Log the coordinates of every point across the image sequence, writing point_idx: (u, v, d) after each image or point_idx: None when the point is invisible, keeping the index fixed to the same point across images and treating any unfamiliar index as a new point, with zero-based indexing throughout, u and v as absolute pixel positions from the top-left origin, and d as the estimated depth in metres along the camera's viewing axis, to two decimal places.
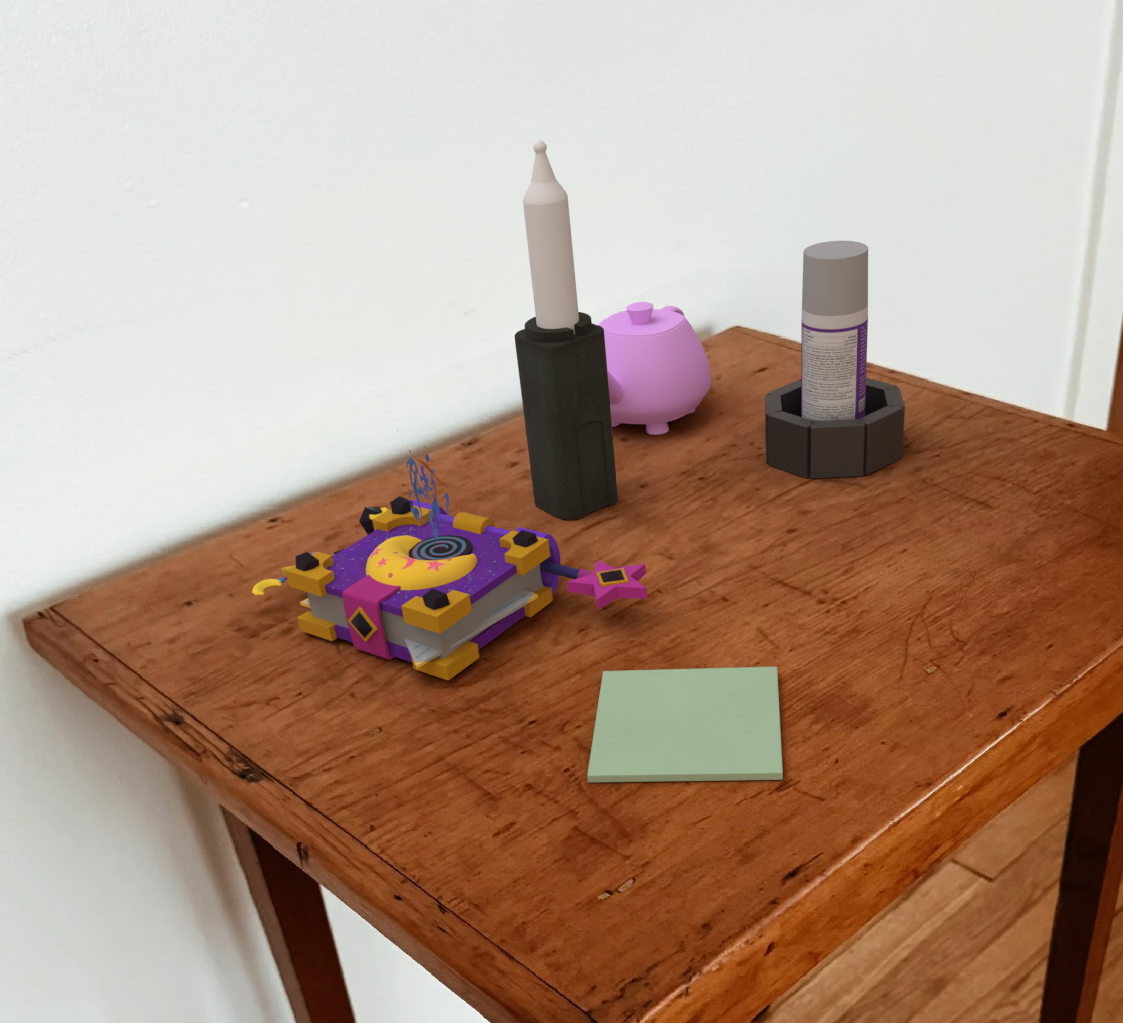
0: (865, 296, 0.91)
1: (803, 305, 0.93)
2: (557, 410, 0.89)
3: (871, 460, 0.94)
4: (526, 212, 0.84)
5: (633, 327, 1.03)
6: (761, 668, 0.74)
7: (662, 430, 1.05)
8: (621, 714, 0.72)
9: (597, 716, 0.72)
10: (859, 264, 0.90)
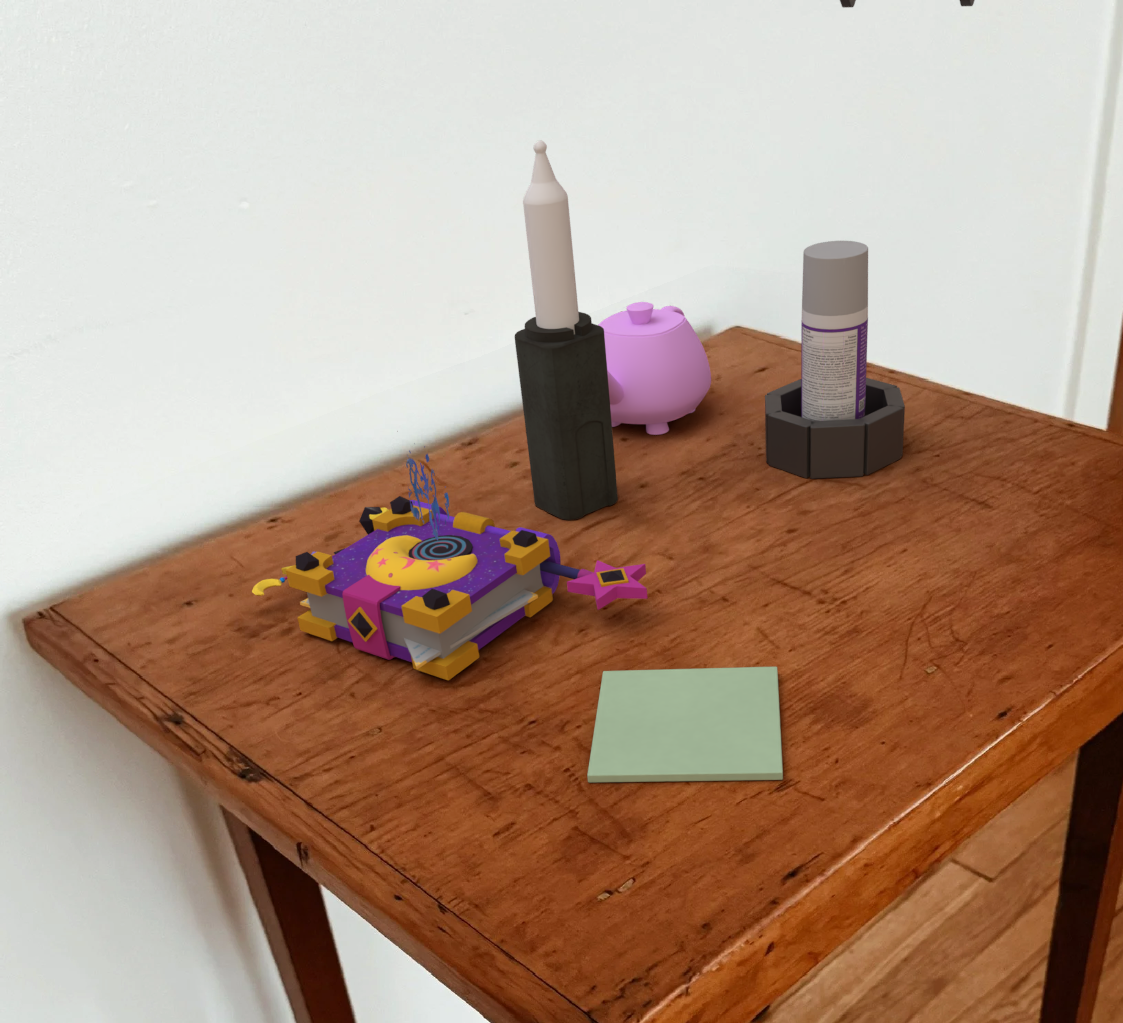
0: (865, 296, 0.91)
1: (803, 305, 0.93)
2: (557, 410, 0.89)
3: (871, 460, 0.94)
4: (526, 212, 0.84)
5: (633, 327, 1.03)
6: (761, 668, 0.74)
7: (662, 430, 1.05)
8: (621, 714, 0.72)
9: (597, 716, 0.72)
10: (859, 264, 0.90)
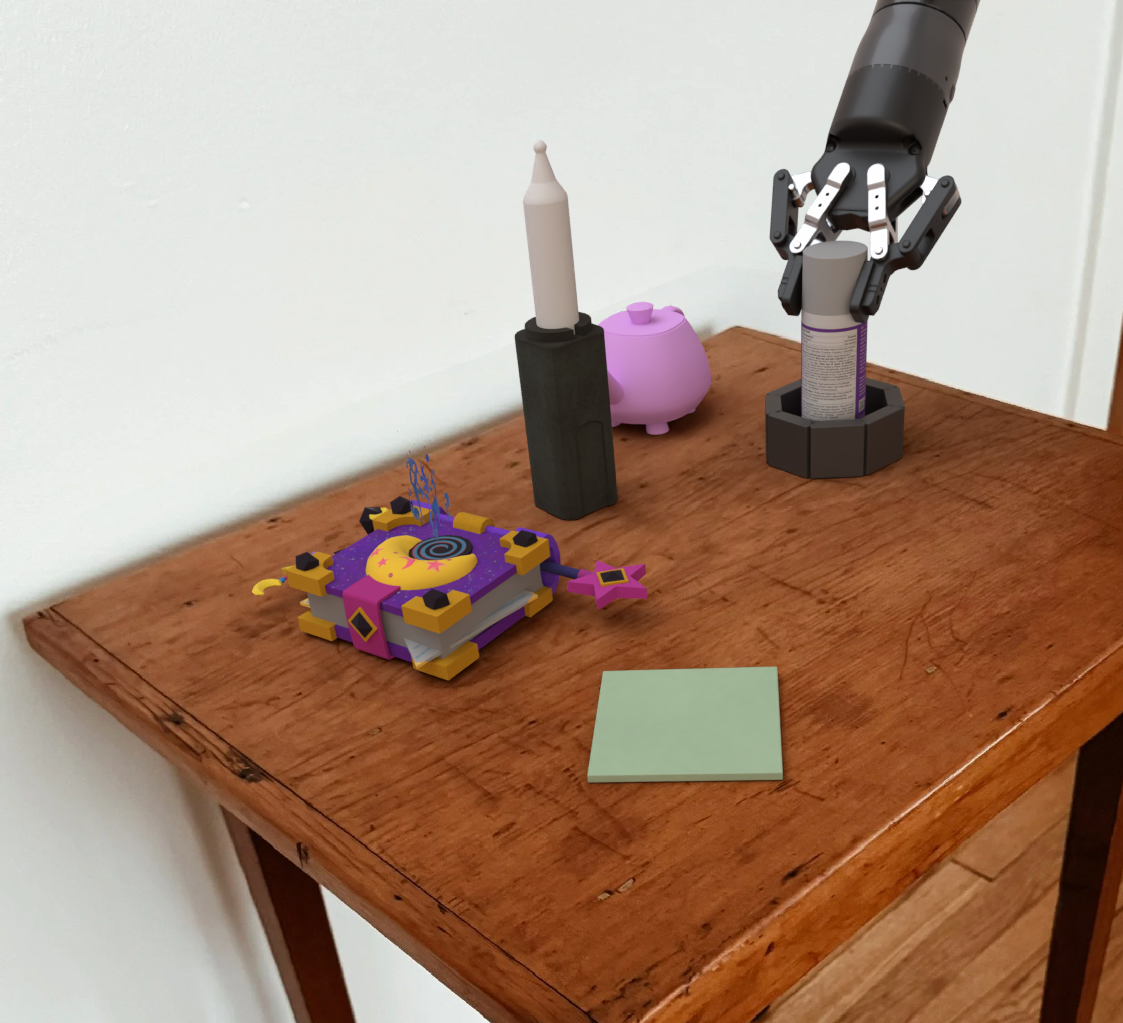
0: None
1: (803, 305, 0.93)
2: (557, 410, 0.89)
3: (871, 460, 0.94)
4: (526, 212, 0.84)
5: (633, 327, 1.03)
6: (761, 668, 0.74)
7: (662, 430, 1.05)
8: (621, 714, 0.72)
9: (597, 716, 0.72)
10: (859, 264, 0.90)
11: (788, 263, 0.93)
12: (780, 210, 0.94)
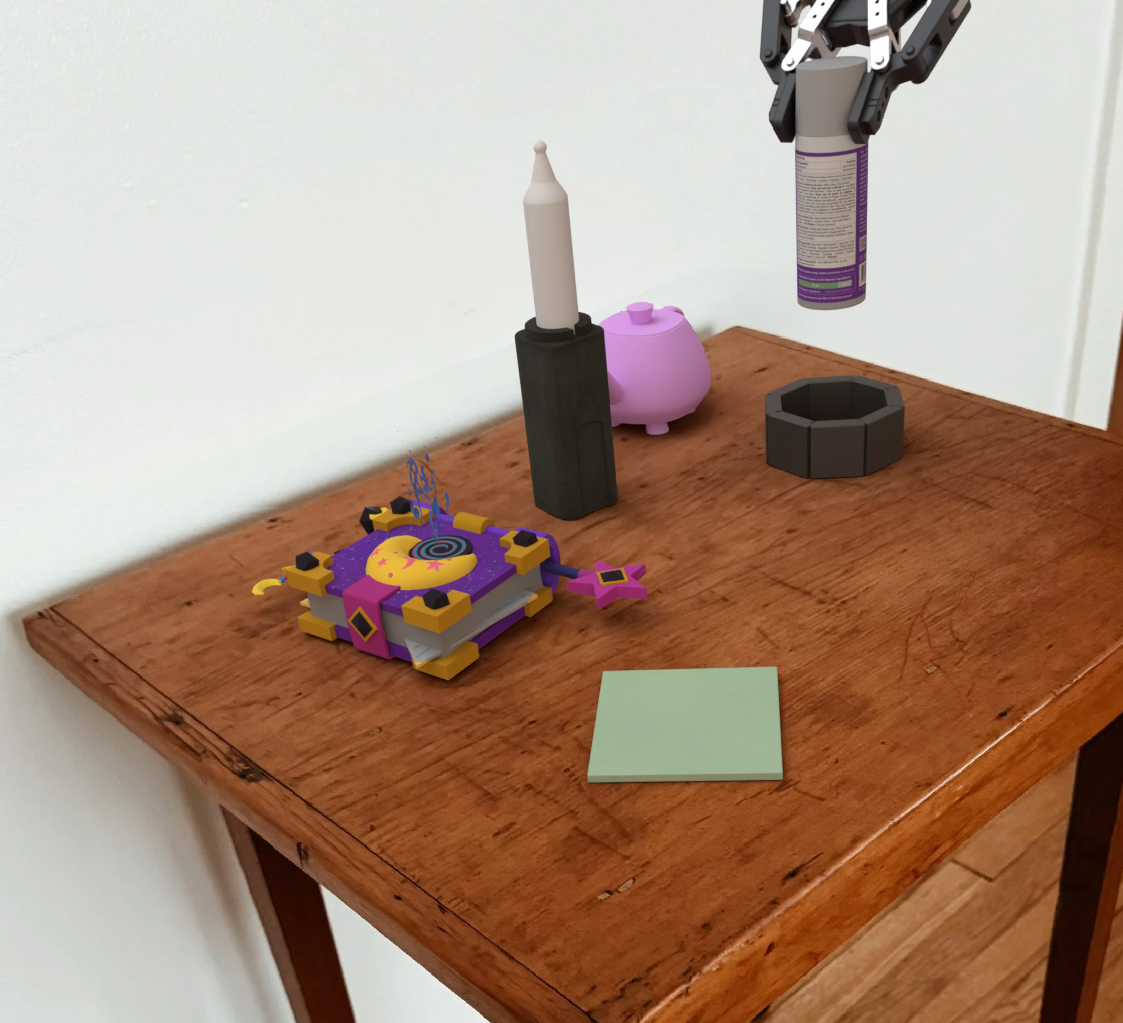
0: None
1: (796, 128, 0.84)
2: (557, 410, 0.89)
3: (871, 460, 0.94)
4: (526, 212, 0.84)
5: (633, 327, 1.03)
6: (761, 668, 0.74)
7: (662, 430, 1.05)
8: (621, 714, 0.72)
9: (597, 716, 0.72)
10: (857, 76, 0.81)
11: (780, 83, 0.84)
12: (771, 27, 0.85)
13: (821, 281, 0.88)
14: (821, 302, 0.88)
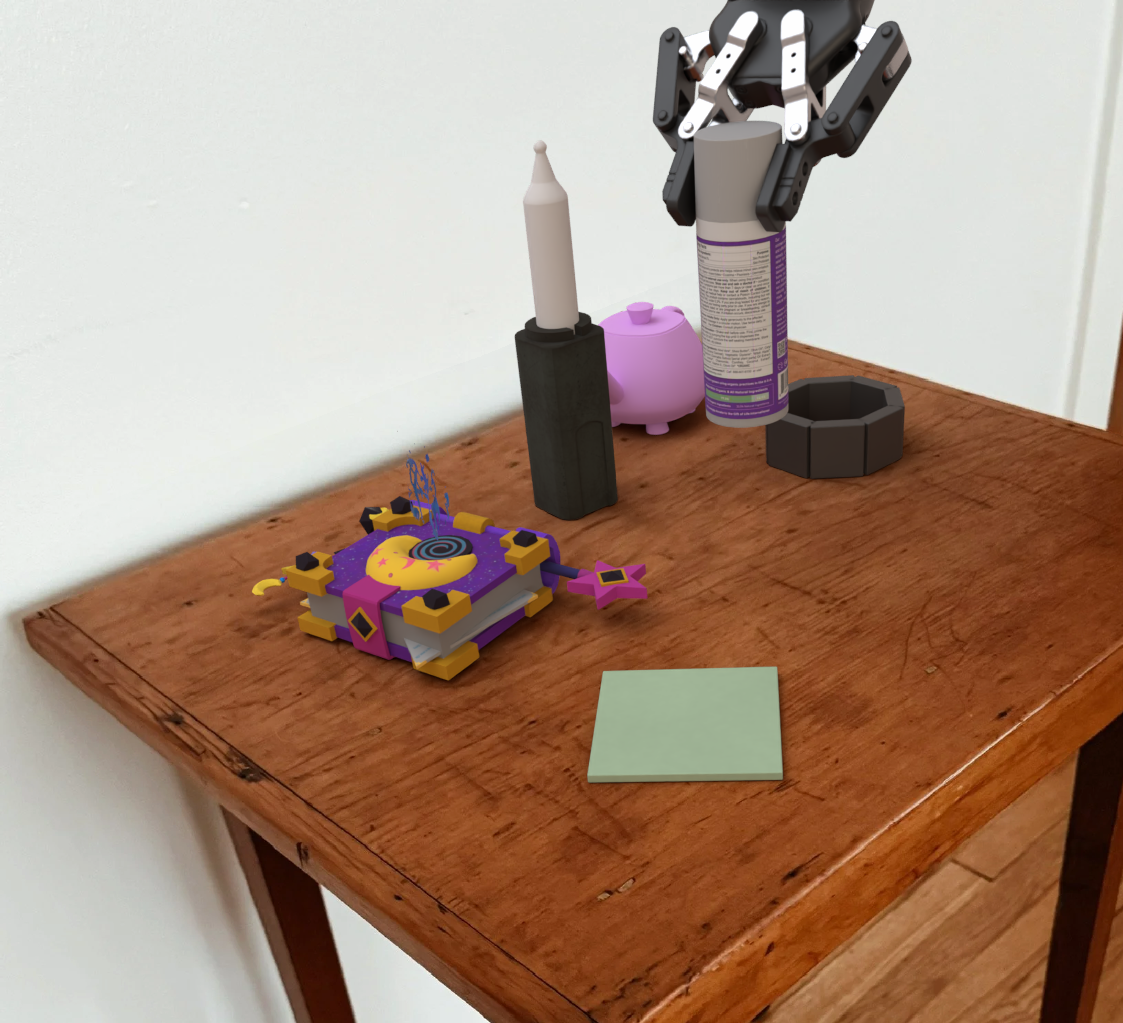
0: None
1: (696, 210, 0.68)
2: (557, 410, 0.89)
3: (871, 460, 0.94)
4: (526, 212, 0.84)
5: (633, 327, 1.03)
6: (761, 668, 0.74)
7: (662, 430, 1.05)
8: (621, 714, 0.72)
9: (597, 716, 0.72)
10: (768, 149, 0.64)
11: (677, 153, 0.68)
12: (667, 82, 0.69)
13: (731, 393, 0.71)
14: (732, 418, 0.72)
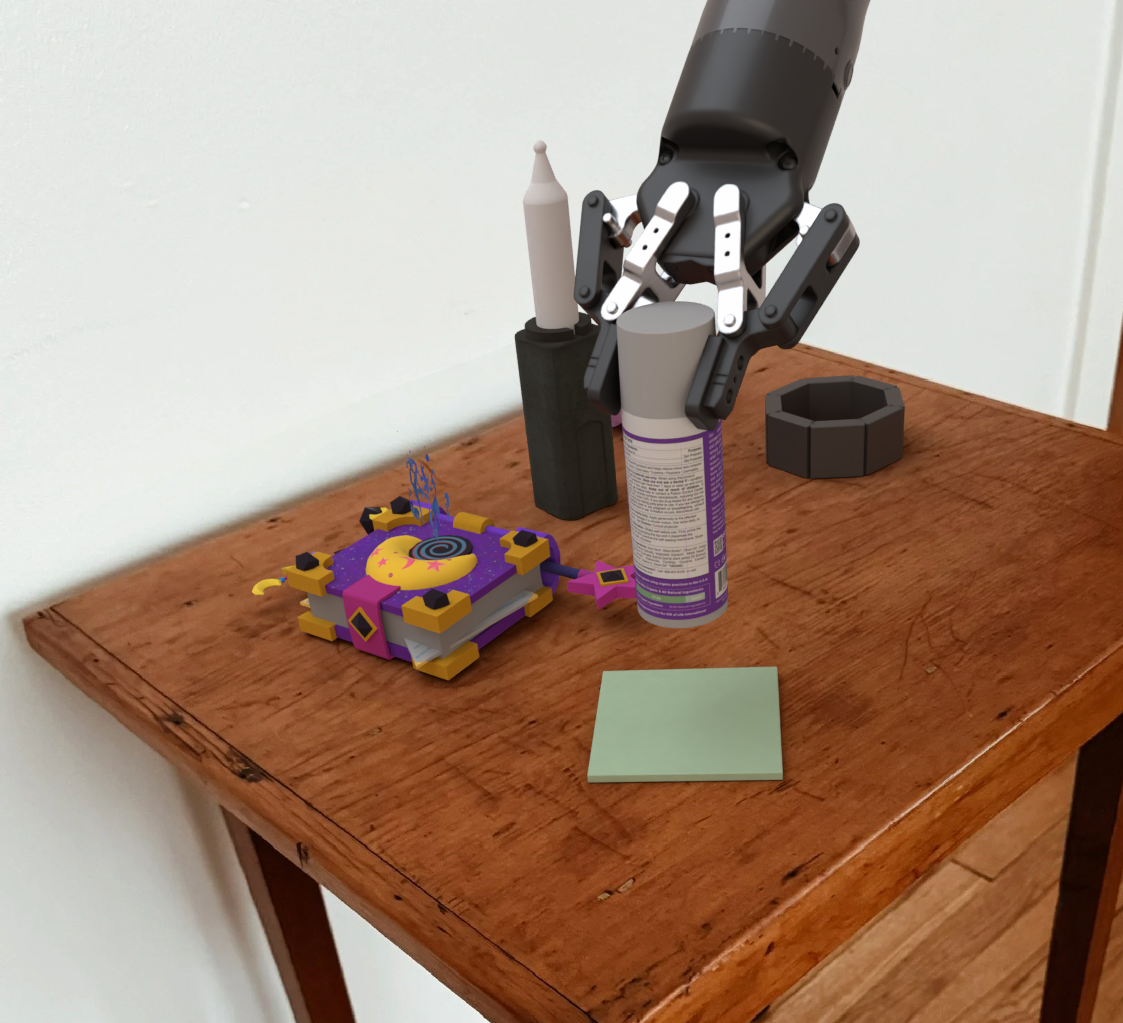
0: None
1: (621, 400, 0.60)
2: (557, 410, 0.89)
3: (871, 460, 0.94)
4: (526, 212, 0.84)
5: None
6: (761, 668, 0.74)
7: None
8: (621, 714, 0.72)
9: (597, 716, 0.72)
10: (699, 342, 0.57)
11: (600, 335, 0.61)
12: (590, 253, 0.62)
13: (663, 593, 0.64)
14: (665, 618, 0.65)
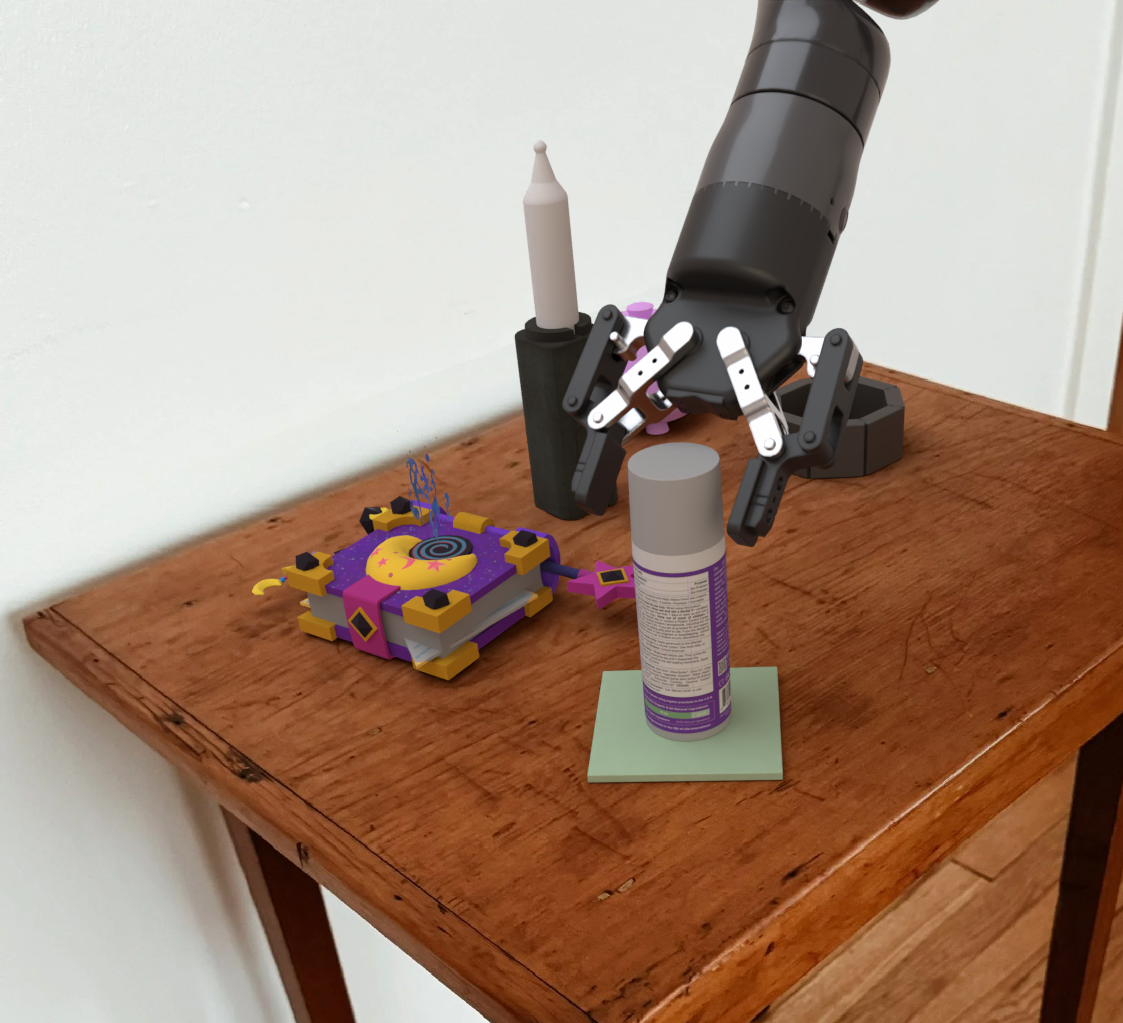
0: (718, 526, 0.63)
1: (632, 535, 0.64)
2: (557, 410, 0.89)
3: (871, 460, 0.94)
4: (526, 212, 0.84)
5: None
6: (761, 668, 0.74)
7: (662, 430, 1.05)
8: (621, 714, 0.72)
9: (597, 716, 0.72)
10: (705, 486, 0.61)
11: (587, 442, 0.65)
12: (588, 365, 0.66)
13: (670, 709, 0.68)
14: (672, 731, 0.69)
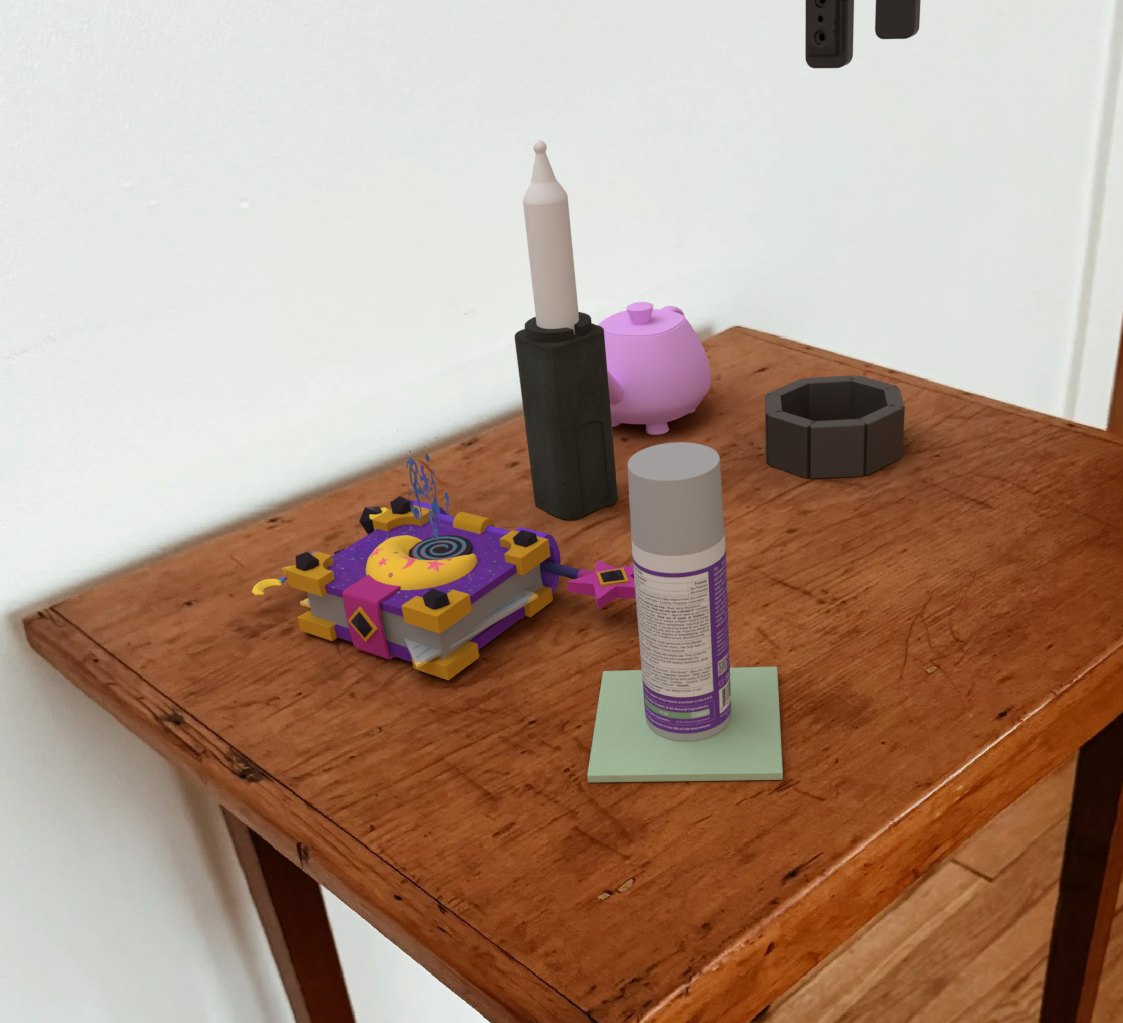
0: (718, 526, 0.63)
1: (632, 535, 0.64)
2: (557, 410, 0.89)
3: (871, 460, 0.94)
4: (526, 212, 0.84)
5: (633, 327, 1.03)
6: (761, 668, 0.74)
7: (662, 430, 1.05)
8: (621, 714, 0.72)
9: (597, 716, 0.72)
10: (705, 486, 0.61)
11: None
12: None
13: (670, 709, 0.68)
14: (672, 731, 0.69)
